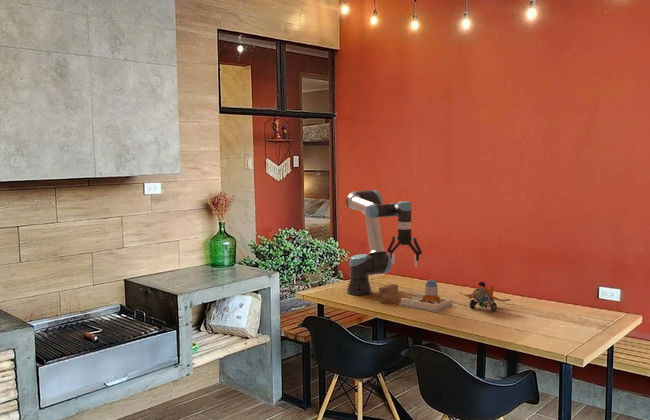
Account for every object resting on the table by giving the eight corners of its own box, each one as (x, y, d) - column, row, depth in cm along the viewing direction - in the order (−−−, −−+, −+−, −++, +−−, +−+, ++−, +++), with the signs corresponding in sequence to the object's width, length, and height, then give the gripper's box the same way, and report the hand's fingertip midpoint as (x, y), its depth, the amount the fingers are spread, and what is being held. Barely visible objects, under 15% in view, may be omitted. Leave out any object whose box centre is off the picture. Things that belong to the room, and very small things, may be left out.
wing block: (378, 302, 339) (378, 287, 338) (391, 298, 348) (391, 283, 347) (385, 304, 336) (385, 288, 335) (398, 299, 344) (397, 284, 344)
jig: (398, 305, 332) (398, 298, 332) (416, 299, 345) (416, 292, 345) (435, 312, 316) (435, 305, 315) (452, 305, 329) (452, 298, 328)
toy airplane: (448, 304, 317) (452, 277, 320) (466, 308, 335) (469, 282, 337) (501, 312, 299) (504, 283, 301) (516, 316, 317) (519, 288, 319)
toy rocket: (439, 303, 333) (443, 279, 329) (440, 311, 323) (444, 287, 318) (421, 301, 334) (425, 276, 329) (421, 309, 323) (425, 284, 319)
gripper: (381, 228, 334) (381, 264, 337) (424, 230, 323) (423, 268, 326) (386, 226, 341) (386, 262, 344) (427, 228, 330) (427, 265, 333)
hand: (404, 265), depth 335 cm, fingers open, 13 cm apart
